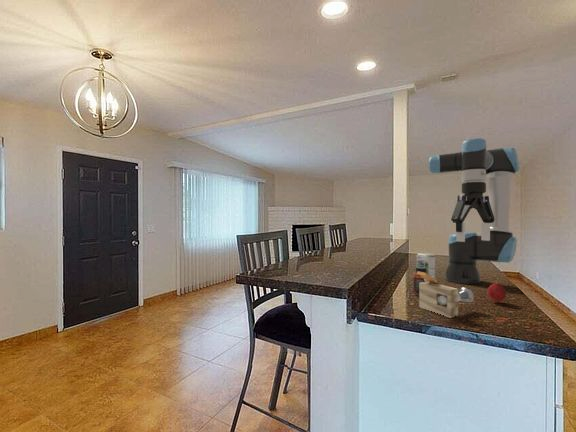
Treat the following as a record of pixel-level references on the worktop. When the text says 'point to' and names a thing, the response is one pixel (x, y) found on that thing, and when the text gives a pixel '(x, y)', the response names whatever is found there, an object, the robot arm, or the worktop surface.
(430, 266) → the syrup box
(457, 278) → the robot arm
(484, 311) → the worktop surface
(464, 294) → the pin
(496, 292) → the onion
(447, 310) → the block
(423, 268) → the supplement bottle
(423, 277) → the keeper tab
